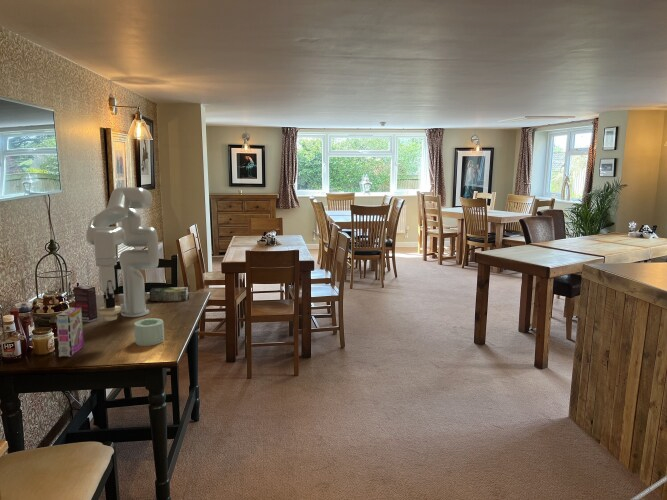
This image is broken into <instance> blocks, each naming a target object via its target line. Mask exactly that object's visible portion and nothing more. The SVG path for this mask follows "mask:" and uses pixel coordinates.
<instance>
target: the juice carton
mask: <svg viewBox="0 0 667 500" xmlns="http://www.w3.org/2000/svg"><path fill="white" fill-rule="evenodd" d="M189 299H190V295H189V287H188V286H186V287H185V286H184V287H183V286H182V287H179V286H178V287H176V286H175V287H172V286H171V287H151V289H150V290H149V301H150V302H151V301H152V302H155V301H156V302H158V303H159V302H177V301H178V302H179V301H181V302H182V301H188V300H189Z"/></svg>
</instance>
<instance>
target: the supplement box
mask: <svg viewBox="0 0 667 500" xmlns="http://www.w3.org/2000/svg"><path fill="white" fill-rule="evenodd" d="M73 297H74V308H76V307H77V308H81V309H82V322H86V323H92V322H94V321H97V320H98V309H97V307H98V306H97V296H96V287H95V286H90V285H89V286H88V285H78V286H74V287H73Z"/></svg>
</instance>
